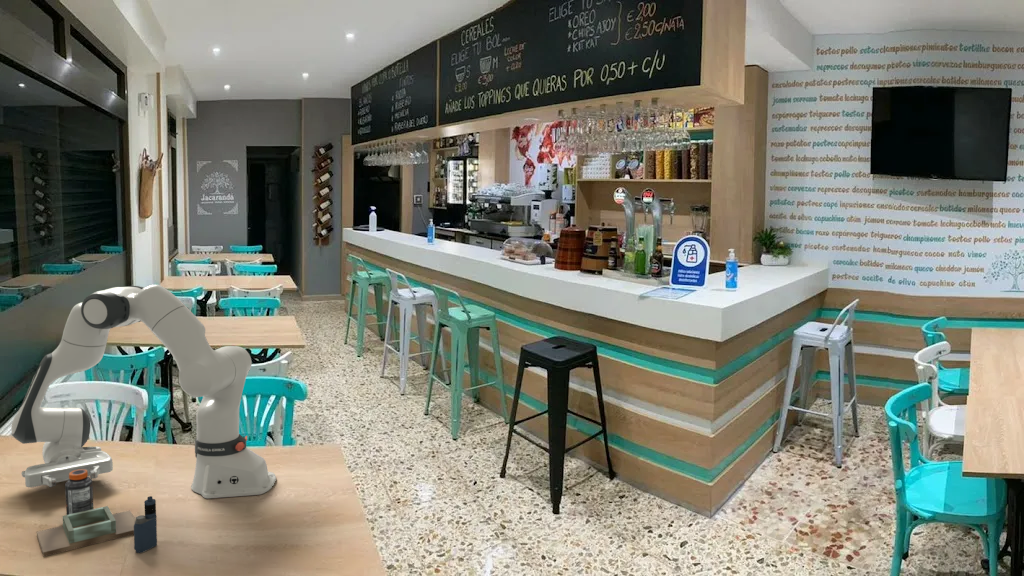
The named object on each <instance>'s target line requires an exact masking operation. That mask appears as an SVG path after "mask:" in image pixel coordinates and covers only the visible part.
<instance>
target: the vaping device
mask: <svg viewBox="0 0 1024 576" xmlns="http://www.w3.org/2000/svg"><path fill="white" fill-rule="evenodd" d="M156 501H157V500H156V499H155V498H153V496H152V495H150V496H148V497H147V499H146V500H144V505H143V506H144V514H140V515H137V516H136V517H135V519H136V521H135V524H134V534H133V541H134V542H133V546H134V547H133V548H134V551H135V552H136V553H138V554H142V553H145V552H147V551H149V550H152V549H153V548H155V547H156V546H158V534H157V532H158V531H157V525H158V524H157V504H156V503H157V502H156Z"/></svg>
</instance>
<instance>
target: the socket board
mask: <svg viewBox="0 0 1024 576" xmlns="http://www.w3.org/2000/svg"><path fill="white" fill-rule="evenodd" d="M61 517H62V525H59V526H55V527H51V528H47V529H42V530H38V531H36V537H37V541H38V544H39V547H40V550H41V553H42V557H48V556H51V555H55V554H60V553H63V552H66V551H67V552H68V551H71V550H76V549H79V548H84V547H87V546H88V547H89V546H91V545H95V544H99V543H104V542H107V541H113V540H115V539H119V538H120V539H121V538H123V537H127V536H131V535H134V524H135V521H136V517H135V516H134V515H133V513H132V510H130V509H129V510H125V511H121V512H117V513H112V511H111V509H110V508H109V506H108V505H105V506H100V507H95V508H94V509H92V510H87V511H83V512H78V513H74V514H69V515H67V514H65V515H62V516H61Z"/></svg>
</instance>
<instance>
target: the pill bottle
mask: <svg viewBox="0 0 1024 576" xmlns="http://www.w3.org/2000/svg"><path fill="white" fill-rule="evenodd" d="M64 489H65V494H64V495H65V507H66V508H65V509H66V510H65V511H66V515H69V514H74V513H78V512H83V511H87V510H92V509H95V508H94V490H93V489H94V487H93V479H91V477H90V476H88V472H87V470H85V469H79V470H74V471H72V472H70V473H69V480H67V481H65V485H64Z"/></svg>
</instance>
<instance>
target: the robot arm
mask: <svg viewBox="0 0 1024 576" xmlns="http://www.w3.org/2000/svg"><path fill="white" fill-rule="evenodd" d="M66 319H67V320H66V322H65V325H64V328H63V332H62V336H61V340H60V342H59V344H58V346H57V347H56V348H55V349H54V350H53V351H52V352H49V353H48V354H45V355H44V356H43V357H42V360H41V361H40V362H39V365H38V366H37V369H36V370H35V373H34V374H33V377H32V380H31V382H30V384H29V387H28V389H27V391H26V393H25V395H24V398H23V400H22V403H21V404H20V405H19V406H20V407H19V408H18V410H17V413H16V414H15V415H14V417H13V419H12V422H11V426H10V427H11V430H10V431H11V436H12V437H13V438H14V439H15V440H17V441H18V442H20V444H36V443H43V446H42V454H41V455H42V459H43V462H44V463H40V464H33V465H31V466H28V467H27V468H26V469H25V470H23V471H21V477H22V478H24V481H25V487H26V488H36V487H40V486H41V487H42V486H48V487H49V488H52V487H56V486H57V483H60V482H67V481H68V480H69V473H70V472H72V471H74V470H79V469H85V470H87V472H88V476H87V477H90V478H91V479H92V480H93V479H97V478H98V477H99V476H98V475H102V474H107V473H110V472H111V471H113V467H114V466H113V464H114V463H113V458H112V457H111V455H109V453H107V452H106V451H103V450H102V448H101V446H85V445H86V443H88V440H89V438H90V433H91V420H90V416H89V414H88V413H87V412H86V410H84V409H83V408H82V407H44V406H43V407H42V404H43V401H44V399H45V397H46V395H47V392H48V390H49V387H50V386H51V384H52V383H53V382H55V381H56V380H58V379H60V378H63V377H65V376H71V375H72V374H78V373H81V372H85V371H87V370H89V369H92V368H94V367H95V366H96V365H97V364H99V363H100V362H101V361H102V359H103V357H104V354H105V352H106V348H107V344H108V343H107V342H108V338H109V333H110V330H111V329H113V328H121V327H127V326H130V325H133V324H136V323H140V322H142V323H143V324H144V325H145V326H146V327H147V328H148V329H149V330H150V332H151V333H153V335H154V336H155V337H156V338H157V339H158V340H159V342H161V343H162V344H163V346H164V347H165V348H166V350H168V352H169V353H170V354H171V355H172V357H173V359H174V360H175V363H176V365H177V368H178V370H179V371H178V372H179V373H178V383H179V386H180V387H181V389H182V391H184V393H186V394H187V395H188V396H190V397H194V398H201V397H202V399H201V401H200V404H199V405H198V407H197V409H196V415H195V416H196V437H195V440H194V441H195V442H194V454H195V458H196V460H195V461H196V462H195V469H194V475H193V479H192V483H191V486H190V487H191V490H192V491H193V492H194V493H197V494H199V495H201V496H202V497H203V498H204V499H216V498H217V499H218V498H232V497H245V496H246V497H247V496H256V495H257V496H258V495H263V494H265V493H267V492H269V491H270V490H271V489H272V488H273V487H272V486H274V485H275V484H274V483H276V482H277V476H276V474H275V473H274V472H272V471H269V470H268V464H267V462H266V459H265V458H264V457H263V456H261V455H259V454H257V453H256V452H254V451H253V450H251V449H250V448H248V447H247V441H248V435H246V436H242V435H241V434H240V405H241V401H242V395H243V390H244V387H245V384H246V378H247V377H248V374H249V371H250V370H251V368H252V364H253V363H252V358H251V355H250V353H249V352H248V350H246V349H245V348H244V347H241V346H238V345H237V346H236V345H227V346H226V345H225V346H222V347H220V348H219V347H218V348H217V349H213V348H212V347H211V345H210V343H209V341H208V340H207V336H206V327H205V325H204V324H203V322H201V320H200V319H199V318H197V316H196V314H194V313H193V312H192V311H191V310H190V309H189V308H188V307H187V306H186V305H185V304H184V303H183V302H182V300H180V298H178V297H177V296H176V295H175V294H174V293H172V292H171V291H170V290H168V289H167V288H165V287H164V286H163V285H161V284H150V285H147V286H140V285H129V286H114V287H110V288H106V289H103V290H98V291H94V292H93V293H91V294H89V295H88V296H86V297H85V298H84V300H83V301H82V302H81V301H80V302H79V303H76V304H75V305H74V306H73V307H72V308H71V310H70V313H69V315H68V316H67V318H66ZM275 481H276V482H275Z"/></svg>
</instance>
